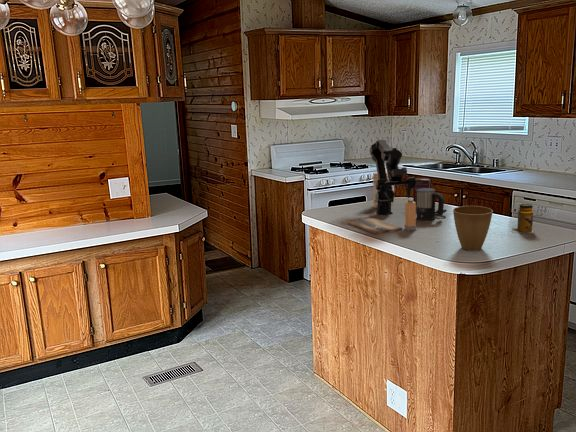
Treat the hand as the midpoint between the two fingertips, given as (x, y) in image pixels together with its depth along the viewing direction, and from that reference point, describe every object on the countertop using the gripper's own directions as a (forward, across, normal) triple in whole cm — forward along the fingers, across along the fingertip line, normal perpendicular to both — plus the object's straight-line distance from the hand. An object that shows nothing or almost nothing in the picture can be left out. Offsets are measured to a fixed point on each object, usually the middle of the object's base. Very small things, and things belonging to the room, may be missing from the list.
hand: (399, 198), depth 254 cm
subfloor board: (+9, -12, +10) cm, 18 cm away
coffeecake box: (-22, +5, +44) cm, 50 cm away
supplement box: (-14, +23, +36) cm, 45 cm away
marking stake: (+15, +3, +3) cm, 16 cm away
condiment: (+25, +49, -8) cm, 56 cm away
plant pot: (+39, +17, -23) cm, 48 cm away
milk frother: (+2, +20, +19) cm, 28 cm away
